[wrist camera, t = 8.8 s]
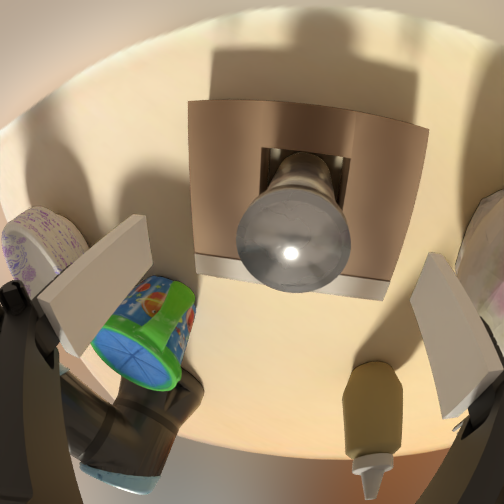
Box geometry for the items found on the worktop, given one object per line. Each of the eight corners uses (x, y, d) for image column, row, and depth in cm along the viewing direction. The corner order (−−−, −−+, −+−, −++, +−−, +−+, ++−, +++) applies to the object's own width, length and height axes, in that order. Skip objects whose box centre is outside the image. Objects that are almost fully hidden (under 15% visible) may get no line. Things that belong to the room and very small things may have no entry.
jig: (211, 249, 27) (196, 273, 23) (209, 99, 19) (187, 101, 16) (375, 272, 24) (382, 301, 21) (410, 123, 17) (429, 129, 13)
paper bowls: (124, 294, 34) (92, 334, 27) (61, 285, 38) (33, 315, 31) (84, 186, 26) (34, 217, 20) (27, 202, 30) (-11, 227, 24)
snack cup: (168, 343, 37) (138, 398, 29) (114, 294, 35) (72, 345, 26) (243, 302, 30) (215, 379, 21) (172, 232, 27) (115, 296, 18)
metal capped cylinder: (270, 204, 23) (235, 284, 14) (273, 144, 20) (236, 185, 11) (331, 212, 22) (337, 299, 13) (339, 152, 20) (361, 200, 10)
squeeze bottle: (339, 359, 32) (329, 497, 17) (401, 349, 29) (413, 487, 14) (345, 390, 35) (335, 504, 20) (398, 382, 32) (402, 497, 17)
